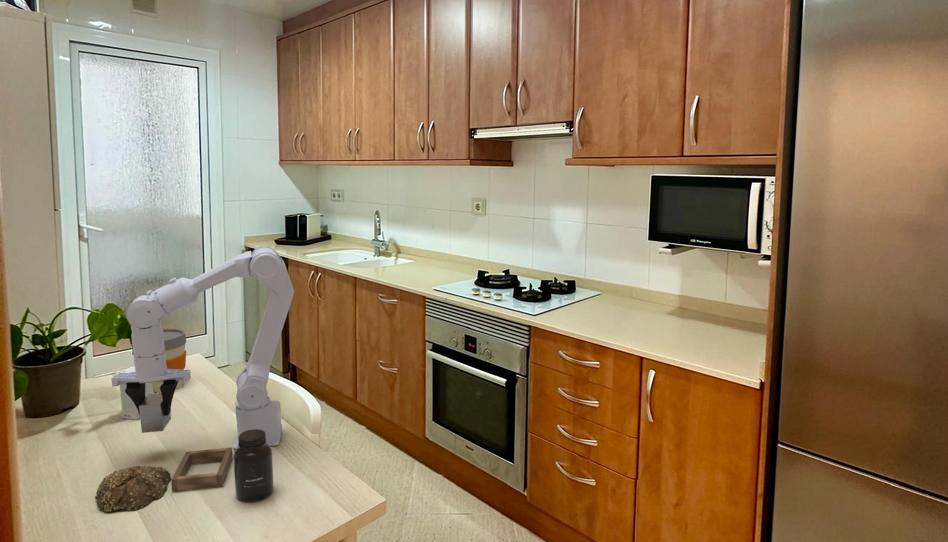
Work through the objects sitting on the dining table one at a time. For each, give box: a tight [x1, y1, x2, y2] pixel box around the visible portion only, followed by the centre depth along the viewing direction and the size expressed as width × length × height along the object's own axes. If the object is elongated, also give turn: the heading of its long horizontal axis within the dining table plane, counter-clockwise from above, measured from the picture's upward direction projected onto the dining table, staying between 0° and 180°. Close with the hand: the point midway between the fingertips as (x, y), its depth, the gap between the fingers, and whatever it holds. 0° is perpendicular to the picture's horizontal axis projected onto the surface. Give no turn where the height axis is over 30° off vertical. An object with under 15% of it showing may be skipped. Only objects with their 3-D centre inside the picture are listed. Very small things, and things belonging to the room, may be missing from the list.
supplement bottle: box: [233, 429, 274, 503], centre depth 108 cm, size 7×7×12 cm
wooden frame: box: [170, 447, 234, 493], centre depth 115 cm, size 9×11×2 cm
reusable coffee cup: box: [152, 328, 187, 394], centre depth 158 cm, size 12×13×15 cm
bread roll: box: [94, 465, 172, 513], centre depth 108 cm, size 13×12×5 cm
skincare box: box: [118, 365, 154, 421], centre depth 141 cm, size 6×4×12 cm
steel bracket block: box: [139, 393, 172, 434], centre depth 121 cm, size 6×4×6 cm, turn 13°
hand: (155, 414), depth 121 cm, fingers closed on steel bracket block, 4 cm apart
